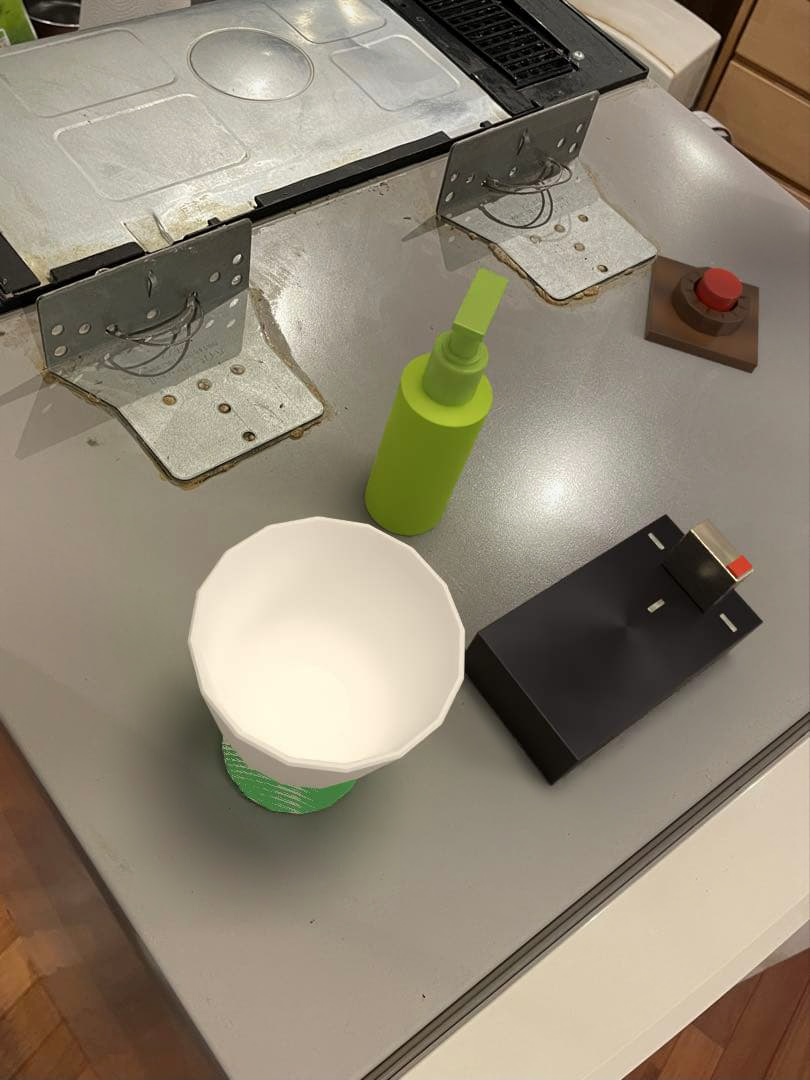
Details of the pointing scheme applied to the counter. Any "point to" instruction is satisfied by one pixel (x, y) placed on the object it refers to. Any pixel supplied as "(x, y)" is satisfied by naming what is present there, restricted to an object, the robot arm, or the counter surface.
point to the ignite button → (718, 289)
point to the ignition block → (701, 317)
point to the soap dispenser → (435, 418)
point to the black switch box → (600, 650)
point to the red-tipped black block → (707, 565)
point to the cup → (323, 656)
